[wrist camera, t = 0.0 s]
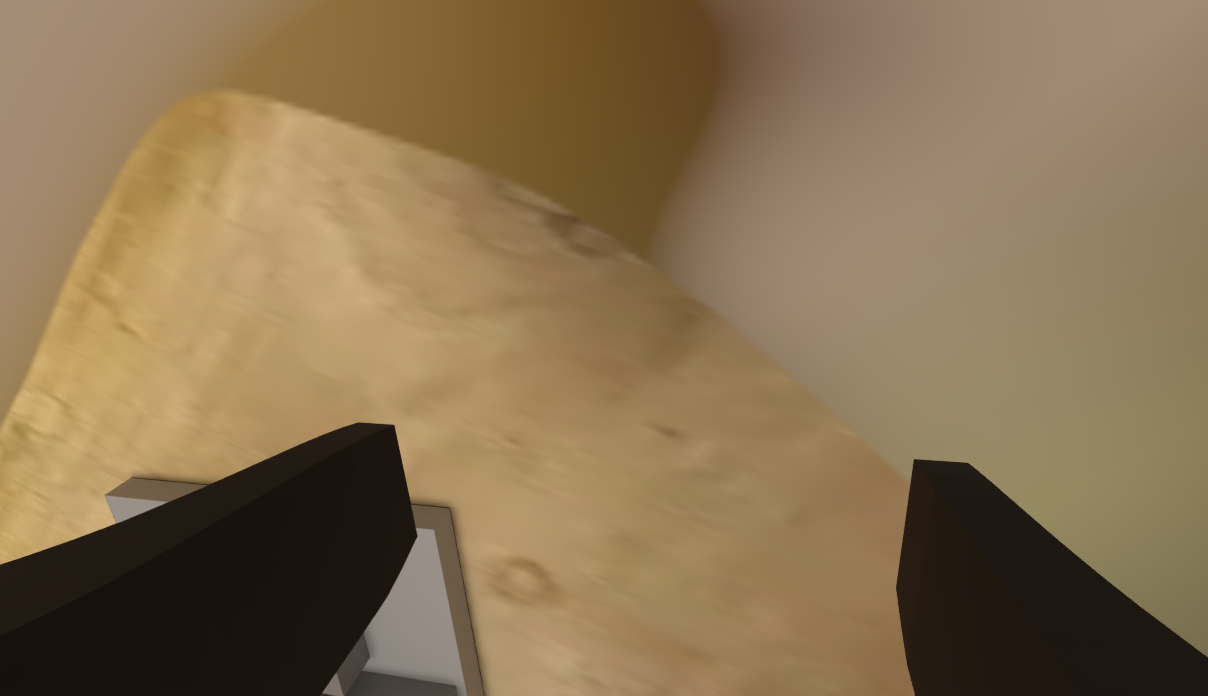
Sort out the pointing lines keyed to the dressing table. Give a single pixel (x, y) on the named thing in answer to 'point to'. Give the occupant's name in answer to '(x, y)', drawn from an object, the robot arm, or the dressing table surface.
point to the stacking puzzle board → (384, 610)
